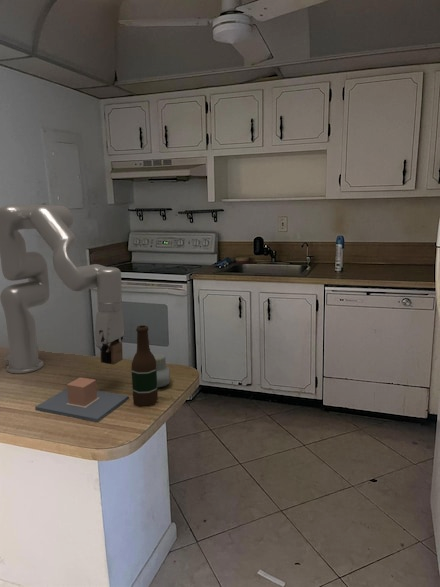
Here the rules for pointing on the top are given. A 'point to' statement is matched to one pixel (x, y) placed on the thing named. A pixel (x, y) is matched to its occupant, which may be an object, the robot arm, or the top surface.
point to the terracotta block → (82, 391)
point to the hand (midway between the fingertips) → (111, 359)
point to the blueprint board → (89, 412)
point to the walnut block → (115, 352)
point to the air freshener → (162, 370)
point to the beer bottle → (144, 371)
